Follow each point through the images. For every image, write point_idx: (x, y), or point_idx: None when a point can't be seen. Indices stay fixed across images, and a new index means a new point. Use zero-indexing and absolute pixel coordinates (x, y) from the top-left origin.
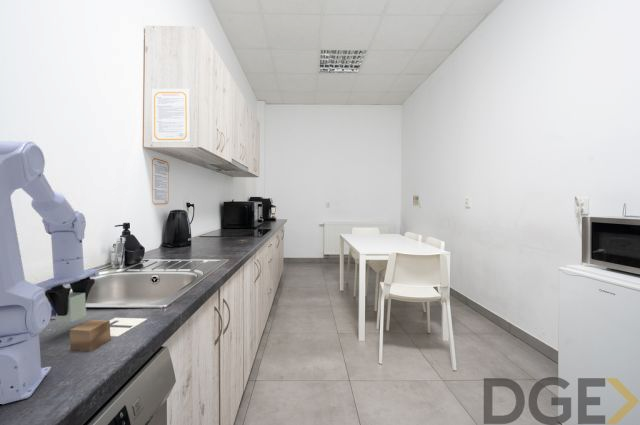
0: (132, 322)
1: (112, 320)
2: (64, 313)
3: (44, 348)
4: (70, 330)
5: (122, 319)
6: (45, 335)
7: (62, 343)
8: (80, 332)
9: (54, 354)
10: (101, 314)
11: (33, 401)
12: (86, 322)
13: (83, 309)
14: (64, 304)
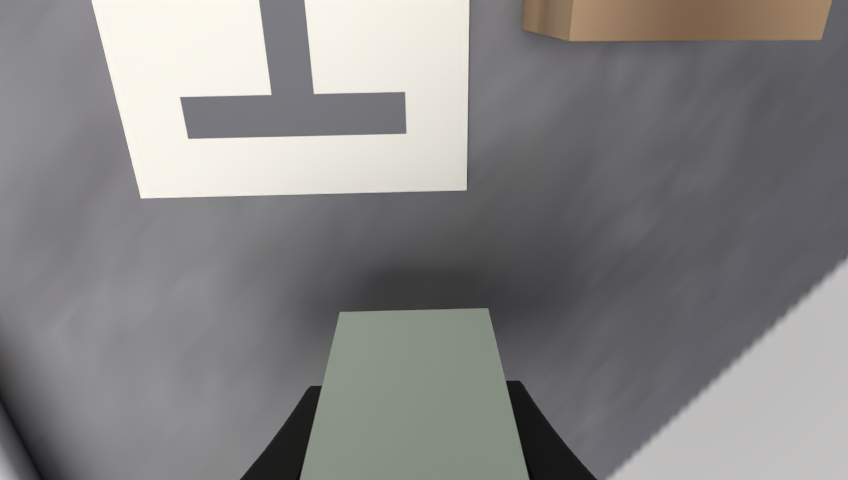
0: None
1: (194, 171)
2: (527, 394)
3: (638, 265)
4: (820, 25)
5: (150, 92)
6: None
7: (575, 215)
8: None
9: (731, 113)
10: (120, 375)
11: None
12: (641, 24)
13: (357, 353)
14: (565, 457)
